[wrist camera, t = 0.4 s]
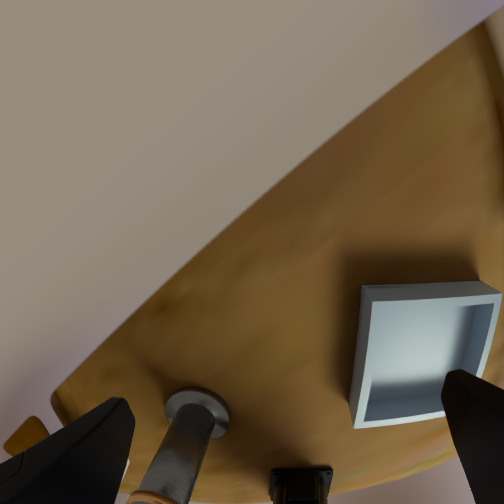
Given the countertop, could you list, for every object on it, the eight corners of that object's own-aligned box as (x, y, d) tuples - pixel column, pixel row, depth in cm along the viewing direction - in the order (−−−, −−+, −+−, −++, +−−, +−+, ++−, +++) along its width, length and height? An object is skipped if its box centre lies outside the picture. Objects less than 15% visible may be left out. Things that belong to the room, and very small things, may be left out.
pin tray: (455, 389, 23) (469, 410, 20) (348, 403, 25) (353, 428, 21) (480, 280, 21) (502, 293, 18) (361, 285, 23) (372, 301, 19)
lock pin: (232, 436, 27) (204, 541, 15) (173, 429, 28) (128, 523, 15) (228, 389, 26) (191, 503, 14) (163, 383, 26) (102, 480, 14)
